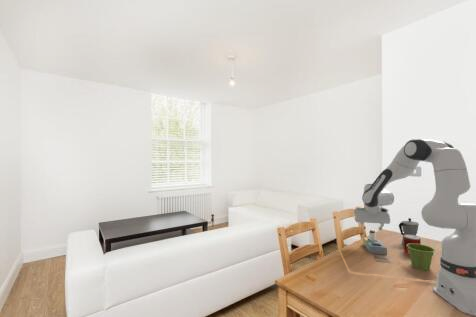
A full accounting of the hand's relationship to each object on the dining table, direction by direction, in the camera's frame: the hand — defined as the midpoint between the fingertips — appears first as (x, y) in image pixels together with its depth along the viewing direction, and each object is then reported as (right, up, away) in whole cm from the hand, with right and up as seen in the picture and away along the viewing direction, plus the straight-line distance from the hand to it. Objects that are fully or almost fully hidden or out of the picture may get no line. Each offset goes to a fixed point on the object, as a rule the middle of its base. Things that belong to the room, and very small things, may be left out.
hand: (372, 229), depth 148 cm
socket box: (-1, -12, -3) cm, 13 cm away
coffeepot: (+27, -12, +5) cm, 30 cm away
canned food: (+18, -12, -11) cm, 24 cm away
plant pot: (+9, -12, -28) cm, 32 cm away
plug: (0, -11, 0) cm, 11 cm away
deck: (-6, -12, -18) cm, 22 cm away
